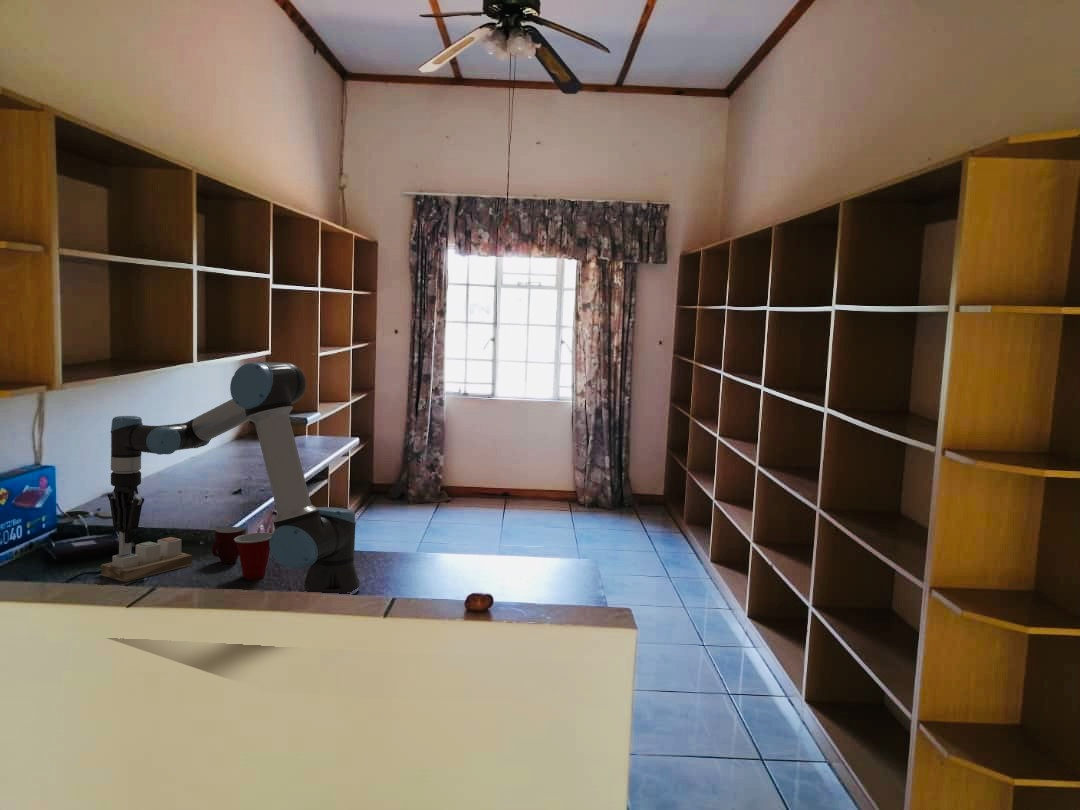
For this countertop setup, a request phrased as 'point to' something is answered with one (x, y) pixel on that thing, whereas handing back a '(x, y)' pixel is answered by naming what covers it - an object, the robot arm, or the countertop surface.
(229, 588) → the countertop surface
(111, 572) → the keypad board
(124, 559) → the off-white cube
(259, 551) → the plastic cup
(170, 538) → the beige cube
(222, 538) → the mug
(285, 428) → the robot arm
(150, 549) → the beige wooden cube
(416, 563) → the countertop surface
